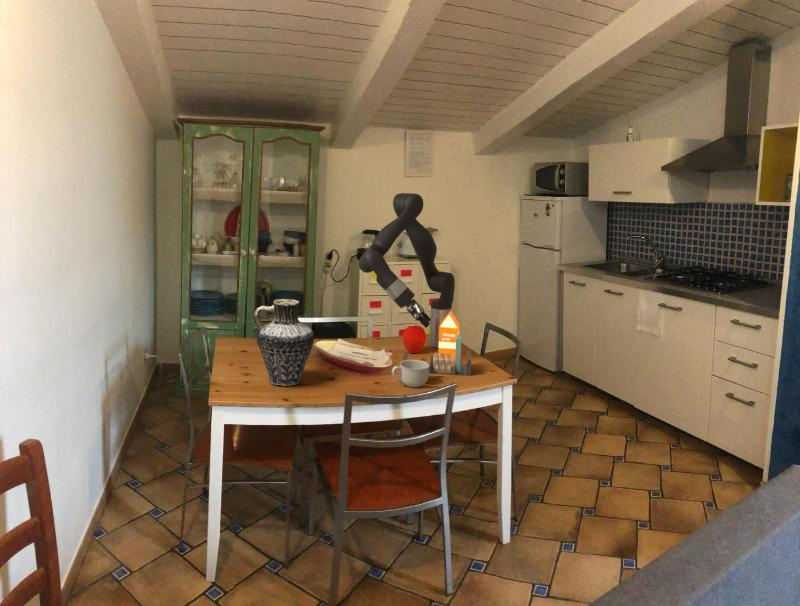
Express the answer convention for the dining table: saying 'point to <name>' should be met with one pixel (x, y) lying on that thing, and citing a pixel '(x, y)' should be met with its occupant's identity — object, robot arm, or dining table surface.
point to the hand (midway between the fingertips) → (428, 323)
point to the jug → (284, 342)
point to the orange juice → (448, 335)
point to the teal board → (457, 353)
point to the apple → (414, 338)
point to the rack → (464, 369)
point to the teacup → (412, 372)
